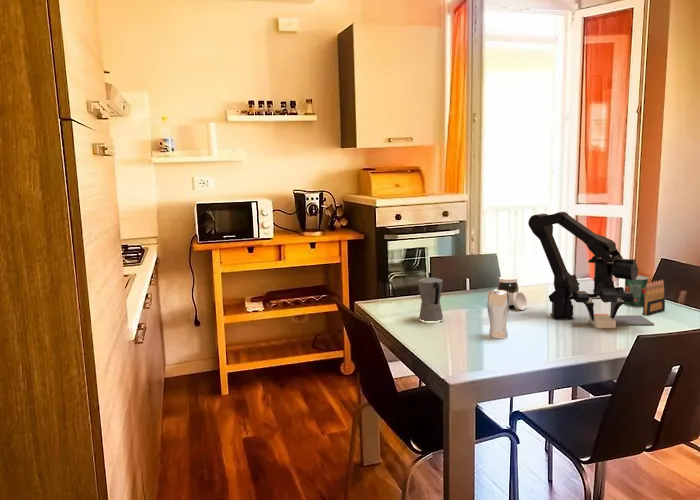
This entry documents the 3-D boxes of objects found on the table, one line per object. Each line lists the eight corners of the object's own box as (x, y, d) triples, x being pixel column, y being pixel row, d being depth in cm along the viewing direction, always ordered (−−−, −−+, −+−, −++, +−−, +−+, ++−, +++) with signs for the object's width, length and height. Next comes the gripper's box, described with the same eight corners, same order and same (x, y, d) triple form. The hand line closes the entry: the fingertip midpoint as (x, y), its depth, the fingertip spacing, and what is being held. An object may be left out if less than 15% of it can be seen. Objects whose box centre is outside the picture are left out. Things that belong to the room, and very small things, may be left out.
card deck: (597, 328, 191) (597, 320, 190) (588, 320, 200) (589, 313, 199) (615, 328, 190) (616, 320, 190) (606, 320, 199) (606, 313, 199)
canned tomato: (650, 307, 215) (651, 278, 213) (629, 307, 215) (630, 279, 214) (640, 302, 223) (641, 274, 221) (620, 302, 223) (621, 275, 222)
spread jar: (500, 302, 230) (500, 274, 229) (529, 305, 225) (529, 276, 224) (494, 310, 220) (494, 280, 218) (524, 312, 215) (524, 282, 213)
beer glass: (485, 333, 190) (485, 289, 188) (506, 332, 190) (506, 289, 187) (489, 339, 183) (489, 294, 181) (511, 339, 183) (511, 294, 181)
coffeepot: (413, 316, 214) (412, 270, 211) (437, 314, 216) (436, 268, 213) (425, 327, 199) (424, 277, 196) (451, 325, 201) (450, 276, 198)
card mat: (617, 325, 193) (617, 324, 193) (606, 317, 204) (606, 315, 204) (654, 325, 192) (654, 323, 192) (641, 316, 202) (641, 315, 202)
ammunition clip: (647, 315, 204) (648, 283, 202) (642, 314, 205) (643, 282, 204) (664, 311, 209) (666, 279, 207) (659, 310, 211) (661, 278, 209)
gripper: (582, 281, 186) (580, 327, 188) (641, 280, 183) (639, 327, 186) (572, 275, 197) (571, 318, 199) (628, 274, 194) (627, 318, 197)
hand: (602, 320), depth 195 cm, fingers closed on card deck, 6 cm apart
